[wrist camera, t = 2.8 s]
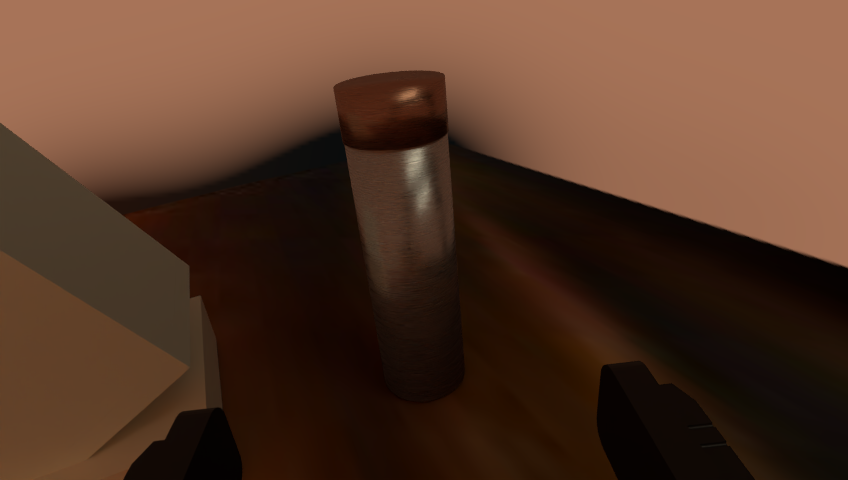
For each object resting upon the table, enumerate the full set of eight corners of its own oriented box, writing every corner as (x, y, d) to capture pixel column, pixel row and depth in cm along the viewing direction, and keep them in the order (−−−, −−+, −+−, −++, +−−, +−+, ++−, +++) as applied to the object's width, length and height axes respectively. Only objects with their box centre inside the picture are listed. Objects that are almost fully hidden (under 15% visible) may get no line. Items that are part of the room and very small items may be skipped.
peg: (443, 335, 27) (418, 67, 21) (480, 382, 24) (464, 78, 17) (372, 360, 26) (322, 82, 19) (401, 414, 22) (351, 98, 16)
